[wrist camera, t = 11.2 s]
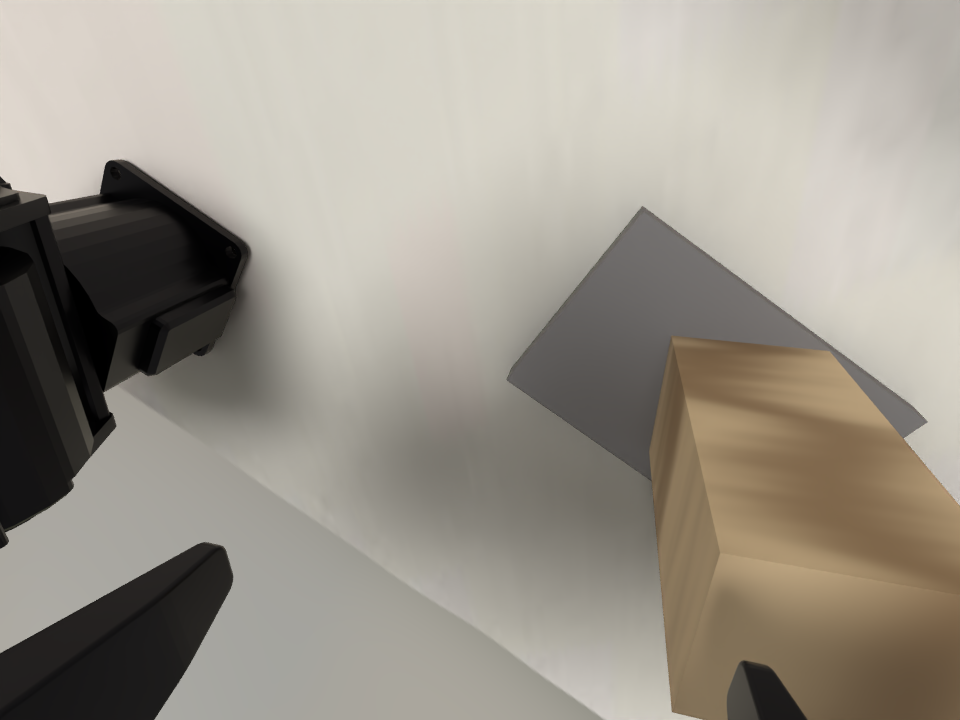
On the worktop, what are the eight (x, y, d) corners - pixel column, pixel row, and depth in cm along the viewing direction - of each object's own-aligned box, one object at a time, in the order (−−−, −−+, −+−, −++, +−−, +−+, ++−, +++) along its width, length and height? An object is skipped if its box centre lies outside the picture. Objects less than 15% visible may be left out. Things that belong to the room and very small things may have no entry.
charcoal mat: (511, 368, 21) (506, 380, 20) (642, 206, 17) (643, 211, 17) (738, 527, 22) (743, 544, 21) (913, 406, 18) (927, 421, 17)
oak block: (649, 451, 20) (672, 711, 12) (671, 335, 18) (720, 552, 9) (787, 470, 19) (925, 772, 11) (829, 350, 17) (1047, 610, 8)
